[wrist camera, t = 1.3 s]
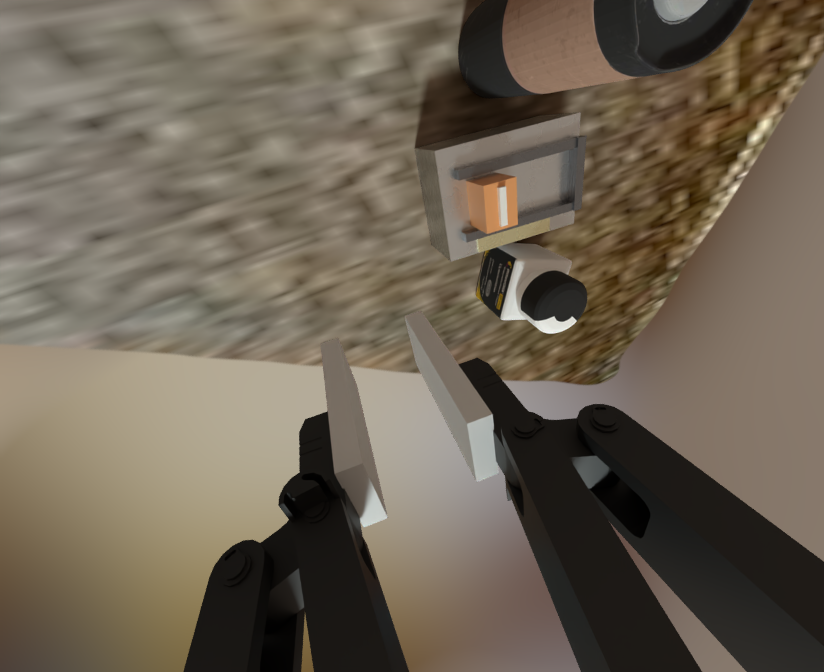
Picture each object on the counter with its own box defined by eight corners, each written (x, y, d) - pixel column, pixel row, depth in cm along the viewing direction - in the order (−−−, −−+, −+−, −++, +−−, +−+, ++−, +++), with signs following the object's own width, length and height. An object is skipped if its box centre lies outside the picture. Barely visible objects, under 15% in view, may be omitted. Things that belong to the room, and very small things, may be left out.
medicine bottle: (485, 241, 41) (545, 275, 31) (536, 243, 43) (607, 276, 33) (474, 296, 44) (525, 343, 35) (521, 295, 47) (582, 340, 37)
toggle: (465, 181, 31) (485, 186, 28) (496, 172, 31) (519, 177, 28) (470, 225, 33) (489, 235, 30) (498, 216, 33) (520, 225, 30)
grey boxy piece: (414, 148, 34) (439, 151, 28) (541, 115, 36) (590, 111, 30) (431, 245, 39) (455, 265, 33) (540, 212, 41) (581, 225, 35)
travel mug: (521, -22, 30) (804, -217, 13) (537, 80, 34) (765, 30, 17) (443, 19, 29) (628, -124, 13) (469, 116, 34) (633, 101, 17)
